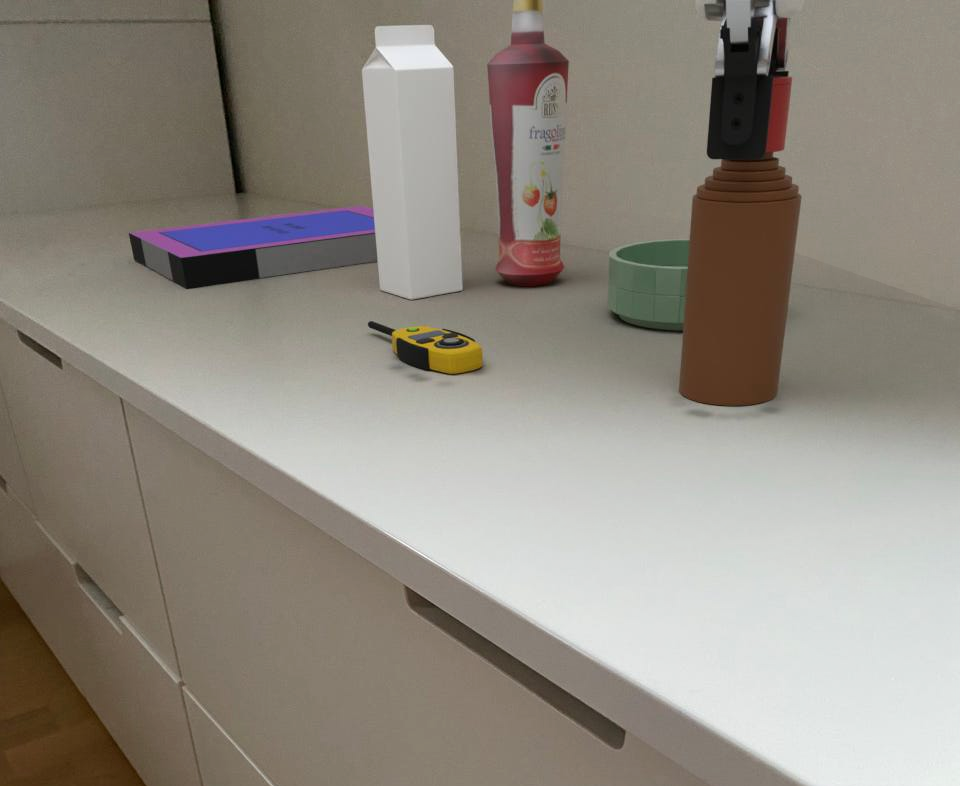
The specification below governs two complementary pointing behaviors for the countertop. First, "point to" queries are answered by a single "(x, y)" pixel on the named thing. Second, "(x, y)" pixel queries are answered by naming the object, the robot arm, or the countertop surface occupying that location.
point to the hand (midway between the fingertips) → (745, 149)
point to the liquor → (528, 148)
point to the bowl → (649, 283)
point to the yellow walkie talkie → (434, 348)
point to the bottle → (738, 282)
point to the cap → (779, 114)
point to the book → (258, 246)
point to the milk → (413, 162)
